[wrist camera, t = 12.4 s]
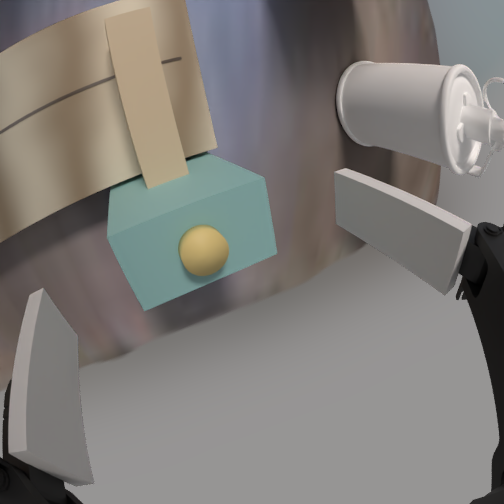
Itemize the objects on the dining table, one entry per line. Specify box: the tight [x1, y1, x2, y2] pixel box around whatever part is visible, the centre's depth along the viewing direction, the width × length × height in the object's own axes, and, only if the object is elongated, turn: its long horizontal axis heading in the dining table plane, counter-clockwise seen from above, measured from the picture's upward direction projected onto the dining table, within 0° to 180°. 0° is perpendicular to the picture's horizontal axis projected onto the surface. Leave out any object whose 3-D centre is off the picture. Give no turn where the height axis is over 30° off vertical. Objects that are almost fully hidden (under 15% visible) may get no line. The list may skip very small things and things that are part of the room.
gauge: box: [104, 7, 277, 311], centre depth 13 cm, size 7×14×11 cm, turn 13°
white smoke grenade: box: [336, 61, 504, 177], centre depth 17 cm, size 10×9×20 cm
